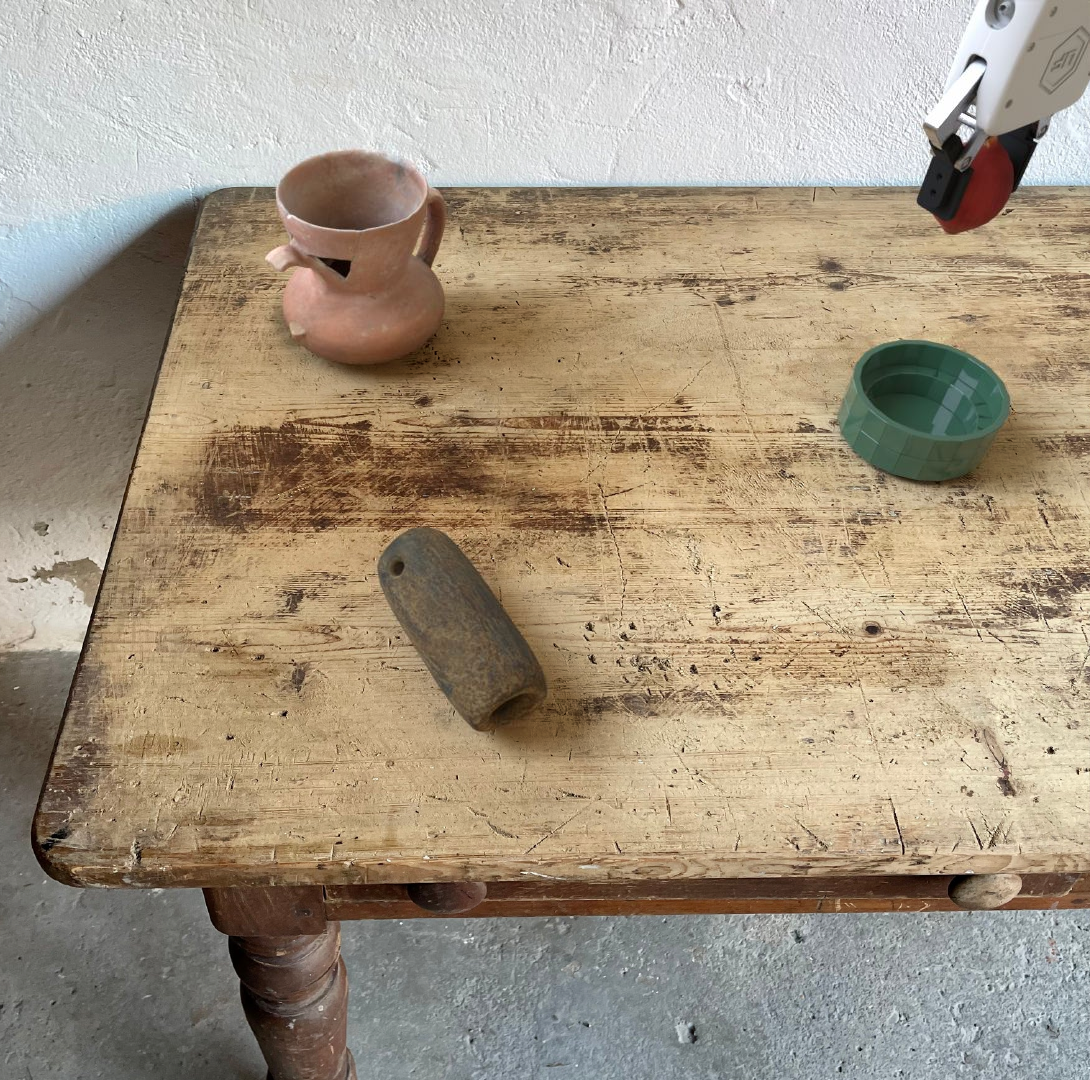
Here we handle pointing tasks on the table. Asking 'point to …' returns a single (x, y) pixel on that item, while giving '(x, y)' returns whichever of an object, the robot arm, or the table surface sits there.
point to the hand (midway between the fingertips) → (966, 196)
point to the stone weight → (460, 630)
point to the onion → (984, 188)
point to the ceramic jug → (360, 255)
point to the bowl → (922, 409)
